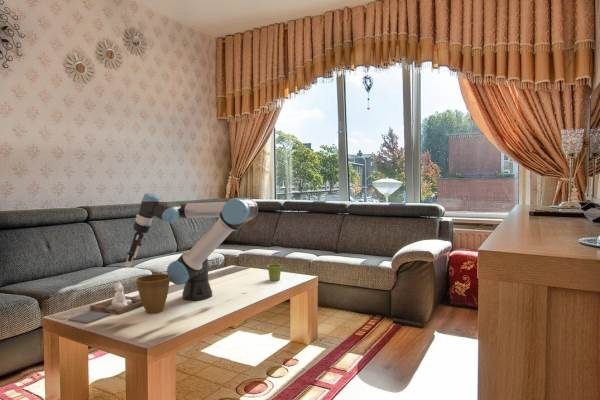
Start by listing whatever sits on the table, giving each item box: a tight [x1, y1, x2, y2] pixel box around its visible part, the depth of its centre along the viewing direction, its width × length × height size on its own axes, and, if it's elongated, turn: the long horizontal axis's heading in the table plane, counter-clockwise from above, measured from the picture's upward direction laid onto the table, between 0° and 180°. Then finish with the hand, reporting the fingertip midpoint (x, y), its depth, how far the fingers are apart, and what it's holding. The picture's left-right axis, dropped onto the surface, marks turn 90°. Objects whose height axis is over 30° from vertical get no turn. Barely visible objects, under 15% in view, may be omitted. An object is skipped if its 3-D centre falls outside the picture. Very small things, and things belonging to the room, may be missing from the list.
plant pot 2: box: [266, 263, 283, 282], centre depth 255 cm, size 9×9×9 cm
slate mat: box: [67, 310, 112, 324], centre depth 189 cm, size 12×12×1 cm
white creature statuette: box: [111, 281, 133, 308], centre depth 205 cm, size 10×9×12 cm
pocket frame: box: [89, 295, 144, 316], centre depth 205 cm, size 19×19×2 cm
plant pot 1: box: [135, 273, 171, 315], centre depth 196 cm, size 15×15×16 cm
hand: (130, 261), depth 214 cm, fingers open, 13 cm apart
